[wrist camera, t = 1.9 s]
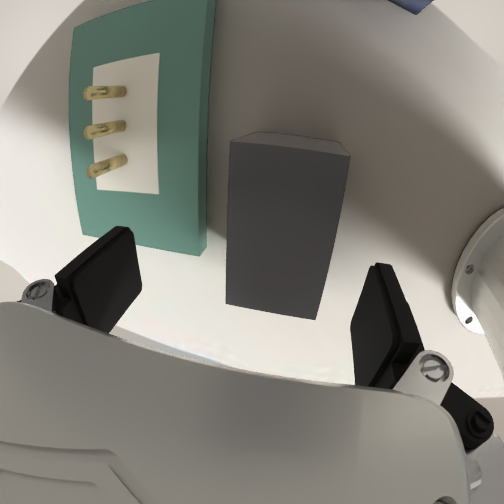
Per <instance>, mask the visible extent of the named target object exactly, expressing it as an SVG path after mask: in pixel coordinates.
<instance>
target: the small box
mask: <svg viewBox="0 0 504 504" xmlns="http://www.w3.org/2000/svg"><path fill="white" fill-rule="evenodd" d="M389 1H391V2H393V3H395V4H397V5H399V6H401V7H403V8H404V9H406V10H408V11H410V12H412V13H413V14H415V15H417V14H418V13H420V11H421V10H422V9H424V8H425V7H426V6H427V5H429V4H430V3H431V2H432V1H433V0H389Z"/></svg>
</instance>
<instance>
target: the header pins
mask: <svg viewBox="0 0 504 504" xmlns="http://www.w3.org/2000/svg"><path fill="white" fill-rule="evenodd" d="M126 93H127V89H126V87H125V86H88V87H86V88H85V90H84V92H83V97H84V99H85V100H96V99H108V98H122V97H124V96H125V95H126ZM126 126H127V125H126V122H125V121H124V120H116V121H111V122H105V123H100V124H95V125H90V126H86V127H85V129H84V137H85V138H86V139H87V140H90V139H94V138H98V137H102V136H106V135H110V134H114V133H119V132H123V131H125V129H126ZM127 162H128V159H127V156H126V155H125V154H120V155H117V156H114V157H111V158H108V159H105V160H103V161H100V162H97V163H94V164H92V165H89V166H88V167H87V170H86V172H87V176H88V177H89V178H90V179H93V178H96V177H98V176H100V175H103V174H105V173H107V172H110V171H112V170H114V169H117V168H119V167H122V166H124V165H126V164H127Z"/></svg>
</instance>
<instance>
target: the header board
mask: <svg viewBox="0 0 504 504" xmlns="http://www.w3.org/2000/svg"><path fill="white" fill-rule="evenodd" d="M215 8H216V0H152V1H148V2H145V3H141V4H137V5H134V6H131V7H127V8H124V9H121V10H118V11H115V12H112V13H110V14H107V15H104V16H101V17H99V18H96V19H94V20H91V21H89V22H86V23H84V24H82V25H79V26H77V27H75V28H74V33H73V41H72V50H71V62H70V78H69V130H70V147H71V159H72V169H73V178H74V186H75V193H76V200H77V206H78V212H79V218H80V223H81V228H82V233H83V235H88V236H93V237H98V238H100V237H102V236H103V235H104V234H106V233H107V232H108V231H110V230H111V229H112V228H114V227H115V226H125V227H129V228H130V229H131V231H132V232H133V233H134V238H135V245H140V246H145V247H150V248H156V249H161V250H167V251H172V252H177V253H183V254H188V255H194V256H200V255H201V254H202V252H203V251H204V250H205V248H206V247H207V245H206V168H207V129H208V104H209V85H210V68H211V54H212V41H213V29H214V18H215ZM88 86H125V87H126V89H127V93H126V95H125V96H124V97H122V98H108V99H96V100H85V99H84V97H83V92H84V90H85V88H86V87H88ZM116 120H124V121H125V122H126V125H127V126H126V129H125V131H123V132H119V133H114V134H110V135H106V136H102V137H98V138H94V139H90V140H87V139H86V138H85V137H84V129H85V127H86V126H90V125H95V124H100V123H105V122H111V121H116ZM120 154H125V155H126V156H127V159H128V162H127V164H126V165H124V166H122V167H119V168H117V169H114V170H112V171H110V172H107V173H105V174H103V175H100V176H98V177H96V178H93V179H90V178H89V177H88V176H87V172H86V170H87V167H88V166H89V165H92V164H94V163H97V162H100V161H103V160H105V159H108V158H111V157H114V156H117V155H120Z"/></svg>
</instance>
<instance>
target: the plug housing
mask: <svg viewBox="0 0 504 504" xmlns="http://www.w3.org/2000/svg"><path fill="white" fill-rule="evenodd" d="M349 161H350V156H349V154H348V153H347V152H346V150H345V149H344V148H343V146H342V145H341V144H340V143H339V142H335V141H329V140H323V139H316V138H310V137H302V136H295V135H286V134H277V133H267V132H255V133H252V134H249V135H246V136H244V137H241V138H238V139H235V140H233V141H230V155H229V180H228V209H227V247H226V304H229V305H234V306H239V307H244V308H249V309H254V310H260V311H265V312H270V313H276V314H282V315H287V316H293V317H299V318H305V319H311V320H316V316H317V312H318V308H319V305H320V301H321V297H322V293H323V289H324V285H325V281H326V277H327V273H328V269H329V265H330V260H331V256H332V251H333V247H334V242H335V238H336V233H337V228H338V223H339V218H340V213H341V208H342V202H343V197H344V191H345V185H346V179H347V173H348V167H349Z"/></svg>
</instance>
